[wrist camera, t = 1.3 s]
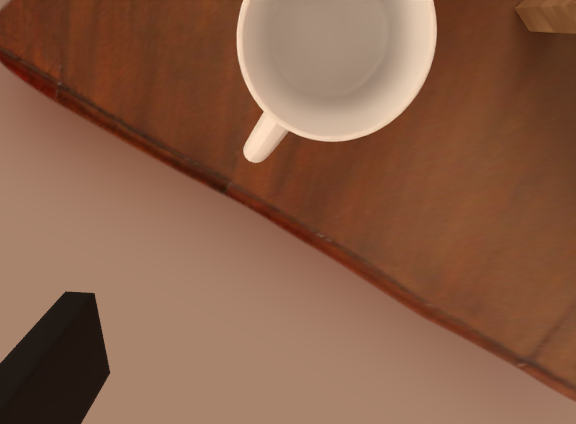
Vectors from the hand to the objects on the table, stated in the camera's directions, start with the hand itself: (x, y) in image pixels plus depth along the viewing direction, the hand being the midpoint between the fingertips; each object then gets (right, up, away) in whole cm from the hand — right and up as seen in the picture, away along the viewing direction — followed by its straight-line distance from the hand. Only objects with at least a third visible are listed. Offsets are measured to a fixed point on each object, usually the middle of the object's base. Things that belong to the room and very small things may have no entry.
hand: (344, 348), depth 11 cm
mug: (0, +14, +17) cm, 22 cm away
